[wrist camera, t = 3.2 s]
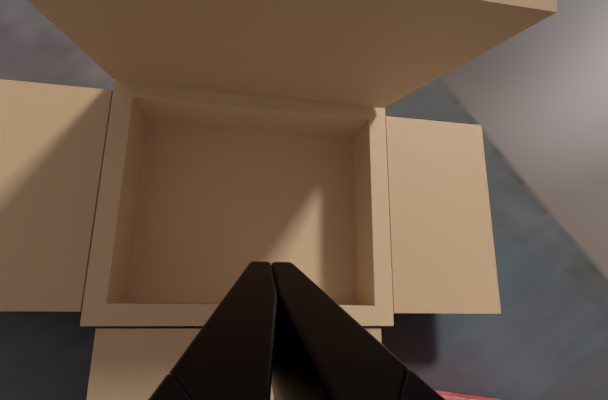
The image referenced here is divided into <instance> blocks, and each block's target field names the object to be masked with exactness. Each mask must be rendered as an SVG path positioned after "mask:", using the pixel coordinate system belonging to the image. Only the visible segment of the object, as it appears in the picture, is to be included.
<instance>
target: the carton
mask: <svg viewBox="0 0 608 400" xmlns="http://www.w3.org/2000/svg"><path fill="white" fill-rule="evenodd" d="M252 261H264V262H270V263H271V265H272V263H273V262H291V263H293V264H294V265H295V266H296V267H297V268H298V269H299V270H301V271H302V272H303V273H304V274H305V275H306V276H307V277H308V278H309V279H311V280H312V281H313V282H314V283H315V284H316V285H317V286H318V287H319V288H321V289H322V290H323V291H324V292H325V293H326V294H327V295H328V296H329V297H330V298H332V299H333V300H334V301H335V302H336V303H337V304H338V305H339V306H340V307H342V308H343V309H344V310H345V311H346V312H347V313H348V314H349V315H350V316H352V317H353V318H354V319H355V320H356V321H357V322H358V323H359V324H360V325H361V326H394V316H393V313H460V314H501V309H500V300H499V290H498V280H497V271H496V261H495V252H494V242H493V233H492V223H491V213H490V204H489V194H488V185H487V175H486V166H485V156H484V146H483V137H482V127H481V125H472V124H462V123H451V122H441V121H430V120H420V119H409V118H399V117H389V116H386V117H385V107H384V108H378V107H367V106H357V105H347V104H337V103H327V102H317V101H307V100H297V99H287V98H277V97H267V96H257V95H247V94H237V93H227V92H217V91H207V90H196V89H186V88H176V87H166V86H156V85H146V84H136V83H126V82H117V81H116V80H114V88H113V91H112V90H107V89H96V88H86V87H75V86H65V85H54V84H44V83H34V82H23V81H13V80H2V79H0V311H49V312H82V314H81V321H80V326H204V324H205V323H206V322H207V320H208V319H209V317H210V316H211V315H212V313H213V312H214V311H215V309H216V308H217V307H218V305H219V304H220V303H221V301H222V300H223V298H224V297H225V296H226V294H227V293H228V292H229V290H230V289H231V288H232V286H233V285H234V283H235V282H236V281H237V279H238V278H239V277H240V275H241V274H242V273H243V271H244V270H245V269H246V267H247V266H248V264H249V263H250V262H252ZM364 328H365V329H366V330H367V331H368V332H369V333H370V334H371V335H373V336H374V337H375V338H376V339H377V340H378V341H379V342H380V343H381V344H382V338H381V328H378V327H364ZM200 330H201V328H97V329H96V330H95V337H94V345H93V352H92V360H91V368H90V375H89V383H88V390H87V398H86V400H148V399H149V398H150V397H151V395H152V394H153V393H154V391H155V390H156V388H157V387H158V386H159V384H160V383H161V382H162V380H163V379H164V378H165V376H166V375H167V374H169V373H170V371H171V369H172V368H173V366H174V365H175V364H176V362H177V361H178V360H179V358H180V357H181V356H182V354H183V353H184V351H185V350H186V349H187V347H188V346H189V345H190V343H191V342H192V341H193V339H194V338H195V337H196V335H197V334H198V332H199V331H200ZM270 400H274V396H273V390H272V385H271V397H270Z"/></svg>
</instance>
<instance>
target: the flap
mask: <svg viewBox="0 0 608 400" xmlns="http://www.w3.org/2000/svg"><path fill="white" fill-rule="evenodd" d="M28 1H29V2H30V3H31V4H32V5H33V6H35V7H36V8H37V9H38V10H39V11H40V12H41V13H42V14H43V15H44V16H46V17H47V18H48V19H49V20H50V21H51V22H52V23H53V24H54V25H55V26H56V27H58V28H59V29H60V30H61V31H62V32H63V33H64V34H65V35H66V36H67V37H69V38H70V39H71V40H72V41H73V42H74V43H75V44H76V45H77V46H78V47H80V48H81V49H82V50H83V51H84V52H85V53H86V54H87V55H88V56H89V57H90V58H92V59H93V60H94V61H95V62H96V63H97V64H98V65H99V66H100V67H101V68H103V69H104V70H105V71H106V72H107V73H108V74H109V75H110V76H111V77H112V78H113V79H115V80H116V81H117V82H126V83H136V84H146V85H156V86H166V87H176V88H186V89H196V90H207V91H217V92H227V93H237V94H247V95H257V96H267V97H277V98H287V99H297V100H307V101H317V102H327V103H337V104H347V105H357V106H367V107H378V108H384V107H386V106H388V105H390V104H392V103H393V102H395V101H397V100H399V99H401V98H403V97H404V96H406V95H408V94H410V93H412V92H413V91H415V90H417V89H419V88H421V87H422V86H424V85H426V84H428V83H430V82H431V81H433V80H435V79H437V78H439V77H440V76H442V75H444V74H446V73H448V72H449V71H451V70H453V69H455V68H457V67H458V66H460V65H462V64H464V63H466V62H467V61H469V60H471V59H473V58H475V57H477V56H478V55H480V54H482V53H484V52H485V51H487V50H489V49H491V48H493V47H495V46H496V45H498V44H500V43H502V42H504V41H505V40H507V39H509V38H511V37H513V36H514V35H516V34H518V33H520V32H522V31H523V30H525V29H527V28H529V27H530V26H532V25H534V24H536V23H538V22H540V21H541V20H543V19H545V18H547V17H549V16H550V15H552V14H554V13H556V12H557V0H28Z"/></svg>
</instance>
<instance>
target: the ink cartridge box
mask: <svg viewBox="0 0 608 400" xmlns="http://www.w3.org/2000/svg"><path fill="white" fill-rule="evenodd" d="M435 391H436V392H437V393H438V394H440V395H441V396H442V397H443V398H444V399H445V400H500V399H494V398H486V397H480V396H473V395H466V394H459V393H452V392H446V391H439V390H435Z"/></svg>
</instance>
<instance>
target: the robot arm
mask: <svg viewBox="0 0 608 400" xmlns="http://www.w3.org/2000/svg"><path fill="white" fill-rule="evenodd" d="M406 370H407V367H406V365H405V364H404V363H402V362H401V361H400V360H399V359H398V358H397V357H396V356H395V355H394V354H392V353H391V352H390V351H389V350H388V349H387V348H386V347H385V346H384V345H383V344H381V343H380V342H379V341H378V340H377V339H376V338H375V337H374V336H373V335H371V334H370V333H369V332H368V331H367V330H366V329H365V328H364V327H363V326H361V325H360V324H359V323H358V322H357V321H356V320H355V319H354V318H353V317H352V316H350V315H349V314H348V313H347V312H346V311H345V310H344V309H343V308H342V307H340V306H339V305H338V304H337V303H336V302H335V301H334V300H333V299H332V298H330V297H329V296H328V295H327V294H326V293H325V292H324V291H323V290H322V289H321V288H319V287H318V286H317V285H316V284H315V283H314V282H313V281H312V280H311V279H309V278H308V277H307V276H306V275H305V274H304V273H303V272H302V271H301V270H299V269H298V268H297V267H296V266H295V265H294V264H293V263H291V262H273V263H272V265H271V263H270V262H264V261H252V262H250V263H249V264H248V266H247V267H246V269H245V270H244V271H243V273H242V274H241V275H240V277H239V278H238V279H237V281H236V282H235V283H234V285H233V286H232V288H231V289H230V290H229V292H228V293H227V294H226V296H225V297H224V298H223V300H222V301H221V303H220V304H219V305H218V307H217V308H216V309H215V311H214V312H213V313H212V315H211V316H210V317H209V319H208V320H207V322H206V323H205V324H204V326H203V327H202V328H201V330H200V331H199V332H198V334H197V335H196V337H195V338H194V339H193V341H192V342H191V343H190V345H189V346H188V347H187V349H186V350H185V351H184V353H183V354H182V356H181V357H180V358H179V360H178V361H177V362H176V364H175V365H174V366H173V368H172V369H171V371H170V373H169V374H167V375H166V376H165V378H164V379H163V380H162V382H161V383H160V384H159V386H158V387H157V388H156V390H155V391H154V393H153V394H152V395H151V397H150V398H149V399H148V400H270V397H271V385H272V390H273V396H274V400H445V399H444V398H443V397H442V396H441V395H440V394H438V393H437V392H436V391H435V390H434V389H433V388H431V387H430V386H429V385H428V384H427V383H426V382H425V381H424V380H422V379H421V378H420V377H419V376H418V375H417V374H416V373H415V372H414V371H412V370H411V369H408V370H407V371H406Z"/></svg>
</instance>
